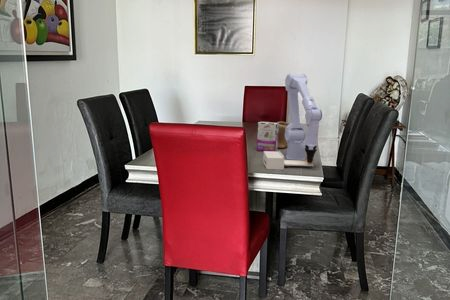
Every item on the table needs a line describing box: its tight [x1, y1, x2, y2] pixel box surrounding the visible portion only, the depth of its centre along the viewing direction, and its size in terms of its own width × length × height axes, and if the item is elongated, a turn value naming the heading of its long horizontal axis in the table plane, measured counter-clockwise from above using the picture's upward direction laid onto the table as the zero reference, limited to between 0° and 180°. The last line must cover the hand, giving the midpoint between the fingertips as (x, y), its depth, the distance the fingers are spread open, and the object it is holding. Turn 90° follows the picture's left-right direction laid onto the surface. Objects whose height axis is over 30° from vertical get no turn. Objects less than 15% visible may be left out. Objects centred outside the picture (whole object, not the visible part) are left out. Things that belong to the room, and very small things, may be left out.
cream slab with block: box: [284, 156, 314, 167], centre depth 195 cm, size 14×8×5 cm, turn 92°
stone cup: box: [276, 121, 290, 149], centre depth 238 cm, size 15×12×15 cm
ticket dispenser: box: [262, 150, 286, 171], centre depth 195 cm, size 8×14×6 cm, turn 2°
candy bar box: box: [256, 121, 279, 152], centre depth 225 cm, size 11×5×16 cm, turn 69°
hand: (309, 161), depth 196 cm, fingers closed on cream slab with block, 5 cm apart
